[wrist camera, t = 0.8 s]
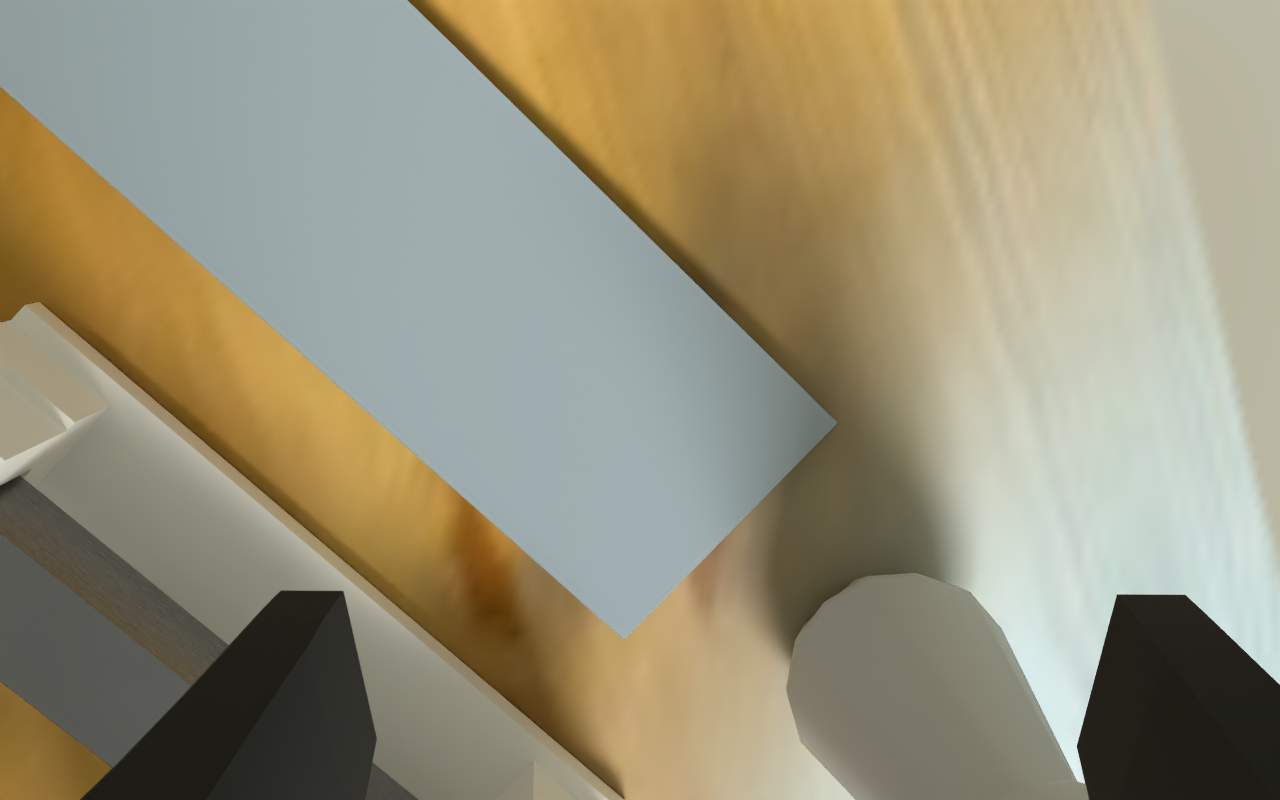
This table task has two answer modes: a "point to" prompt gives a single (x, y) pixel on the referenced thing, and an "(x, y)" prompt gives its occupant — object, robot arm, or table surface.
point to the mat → (432, 268)
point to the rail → (96, 633)
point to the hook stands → (253, 564)
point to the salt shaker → (921, 698)
